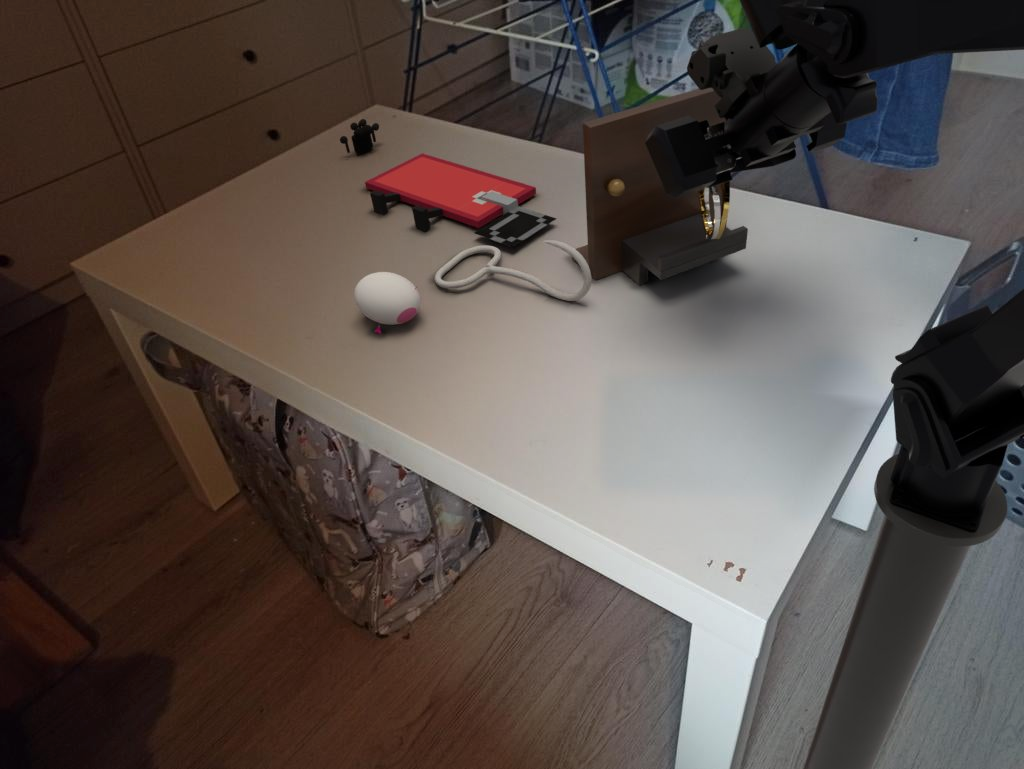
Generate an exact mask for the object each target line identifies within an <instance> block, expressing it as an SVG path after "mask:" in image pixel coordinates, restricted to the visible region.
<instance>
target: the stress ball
mask: <svg viewBox="0 0 1024 769" xmlns="http://www.w3.org/2000/svg"><path fill="white" fill-rule="evenodd" d="M417 288H418V286H415V285H414V284H413V282H412V281H410V280H409V279H407V278H405V277H404V276H403V275H400V274H398V273H394V272H389V271H377V272H373V273H367V275H365V276H364V277H362V278H361V279H360V280H359V282H357V284H356V286H355V289H354V301H355V304H356V306H357V308H358V309H359V311H360V312H361V313H362V314H363V315H364V316H365V317H366V318H368V319H370V320H372V321H374V322H376V323H379V324H378V326H377V328H376V329H375V330H374V331H373V332H374V333H377V334H381V335H382V334H383V333H382V332H381V328H380V327H381V326H380V325H381V324H383V325H387V326H388V325H389V326H393V325H402V324H404V323H407V322H409V321H411V320H412V319H413V318H414V317H415V316H416V315H417V313H418V312H419V311H420V307H421V297H420V293H419V291H418V289H417Z"/></svg>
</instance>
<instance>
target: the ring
mask: <svg viewBox="0 0 1024 769" xmlns="http://www.w3.org/2000/svg"><path fill="white" fill-rule="evenodd" d="M729 172H730V174H731V175H732V173H731V171H730V170H729ZM720 186H721V190H722V210H721V211H720V199H719V195H718V191H717V189H716V187H715V186H713V187H710V188H704V192H703V189H702V190H700V191H698V195H699V203H700V210H701V216H702V221H703V226H704V230H705V237H706V238H707V239H708V240H718V239H720V237H721V235H722V233H723V231H724V228H725V224H726V225H727V223H726V220H727V221H728V215H729V208H730V202H731V201H730V200H731V182H730V183H729V181H728V182H725V183H722V184H720ZM709 190H710V192H711V195H712V198H713V202H714V227H713V226H712V222H711V217H710V210H709Z"/></svg>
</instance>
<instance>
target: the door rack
mask: <svg viewBox="0 0 1024 769" xmlns="http://www.w3.org/2000/svg"><path fill="white" fill-rule="evenodd" d="M721 99H722V98H721V97H719V96H718V95H717V94H716V92H715V91H714V90H713V88H708V89H704V90H700V89H699V88H696V89H693V90H689V91H686V92H682V93H678V94H676V95H671V96H669V97H665V98H662V99H659V100H656V101H651V102H649V103H645V104H642V105H639V106H634V107H632V108H631V107H630V108H628V109H625V110H622V111H621V110H620V111H618V112H615V113H611V114H608V115H604V116H601V117H598V118H595V119H590V120H588V121H584V122H582V138H583V139H582V140H583V161H584V164H583V165H584V188H585V208H586V210H585V211H586V212H585V213H586V235H587V236H586V237H587V244H585V245H583V246H580V247H577V248H575V249H576V250H577V251H578V252H579V253H580V254H581V255H582V256H583V258H584V259H585V260H586V262H587V264H588V266H589V269H590V272H591V278H593V279H594V280H595V281H597V280H600V279H603V278H605V277H608V276H611V275H614V274H617V273H619V272H623V273H624V274H625V275H627V276H628V277H629V278H630V279H631V280H632V281H634V283H636V284H637V285H638V286H641V285H643V284H646V283H648V282H649V271H650V272H651V273H652V274H653V275H655V277H657V278H658V279H659V280H661V281H662V280H665V279H667V278H670V277H672V276H675V275H678V274H681V273H684V272H687V271H689V270H691V269H694V268H697V267H700V266H703V265H705V264H708V263H710V262H713V261H716V260H718V259H721V258H724V257H726V256H729V255H732V254H735V253H738V252H740V251H743V250H746V248H747V242H748V241H747V240H748V231H749V228H748V227H746V226H744V225H742V226H739V227H736V228H734V229H729V228H728V227H727V221H728V219H727V220H726V224H725V228H724V231H723V233H722V235H721V237H720V239H718V240H708V239H707V238H706V237H705V230H704V226H703V221H702V216H701V210H700V203H699V195H698V191H697V192H694V193H692V194H689V195H686V196H683V197H680V198H677V199H674V198H672V197H670V196H668V195H667V194H666V191H665V189H664V187H663V184H662V182H661V180H660V177H659V175H658V173H657V170H656V168H655V165H654V163H653V161H652V158H651V156H650V154H649V151H648V149H647V147H646V144H645V141H646V139H647V136H648V135H649V134H650V132H651V131H652V130H653V129H654V128H655V127H656V126H657V125H661V124H664V123H667V122H670V121H674V120H677V119H680V118H683V117H687V116H690V117H692V118H694V119H696V120H697V121H698V122H701V121H704V120H707V121H708V123H709V125H710V126H713V125H716V124H719V123H722V122H725V121H726V120H725V117H724V118H720V117H719V115H718V113H717V110H716V108H715V105H716V104H717V103H718V102H719V101H720V100H721ZM724 134H725V133H724ZM729 183H730V184H731V181H729ZM715 187H716V189H717V191H718V195H719V199H720V211H721V210H722V190H721V186H720V184H719V185H716V186H715ZM703 192H704V189H703ZM709 210H710V217H711V222H712V226H713V227H714V202H713V198H712V195H711V192H710V190H709ZM571 260H573V261H574V262H575V263H576V264H578V262H577V261H576V260H575V259H574V258H573V257H572V256H571Z"/></svg>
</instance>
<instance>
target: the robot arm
mask: <svg viewBox="0 0 1024 769" xmlns="http://www.w3.org/2000/svg"><path fill="white" fill-rule="evenodd" d="M738 1H739V3H740V5H741V7H742V10H743V12H744V15H745V17H746V19H747V21H748V24H749V26H750V28H751V29H750V28H746V27H742V28H741V27H740V28H737V29H733V30H729V31H727V32H722V33H719V34H715V35H713V36H711V37H709V39H708V40H707V41H703V42H701V43H699V46H698V48H697V49H696V50H692V52H691V54H690V57H689V60H688V64H687V66H686V72H687V75H688V76H689V78H690V79H691V80H692V82H693V83H694V84H695V85H696V86H697V89H700V90H704V89H708V88H713V90H714V91H715V92H716V94H717V95H718V96H719V97H721V98H722V99H721V100H720V101H719V102H718V103H717V104H716V105H715V108H716V110H717V113H718V115H719V117H720V118H724V117H725V120H726V121H725V122H722V123H719V124H716V125H713V126H710V125H709V123H708V121H707V120H704V121H701V122H698V121H697V120H696V119H694V118H692V117H690V116H687V117H683V118H680V119H677V120H674V121H670V122H667V123H664V124H661V125H657V126H656V127H655V128H654V129H653V130H652V131H651V132H650V134H649V135H648V136H647V139H646V141H645V144H646V147H647V149H648V151H649V154H650V156H651V158H652V161H653V163H654V165H655V168H656V170H657V173H658V175H659V177H660V180H661V182H662V184H663V187H664V189H665V191H666V194H667V195H668V196H670V197H672V198H674V199H677V198H680V197H683V196H686V195H689V194H692V193H694V192H697V191H700V190H702V189H704V188H710V187H713V186H716V185H719V184H722V183H725V182H728V181H730V182H731V181H733V177H732V173H737V172H738V173H739V172H746V171H750V170H751V171H752V170H759V169H764V168H770V167H775V166H778V165H781V164H784V163H787V162H790V161H793V160H795V159H796V156H797V151H796V148H797V145H796V143H795V141H796V140H797V139H798V138H800V137H803V136H804V137H805V136H807V135H809V137H810V140H811V142H810V143H808V144H807V145H806V148H807V151H808V153H809V154H812V153H816V152H819V151H820V150H825V149H828V148H830V147H833V146H834V145H836V144H837V143H839V142H840V141H841V140H843V139H844V138H845V137H846V132H847V125H848V123H849V122H852V121H855V120H858V119H861V118H865V117H868V116H871V115H873V114H876V113H877V111H878V102H879V98H878V96H877V87H878V82H877V80H874V79H871V78H870V77H869V73H872V72H876V71H879V70H884V69H887V68H891V67H894V66H898V65H902V64H905V63H908V62H912V61H916V60H919V59H923V58H926V57H931V56H934V55H945V54H964V53H965V54H966V53H985V52H1006V51H1022V50H1023V51H1024V0H738ZM771 44H773V46H774V49H775V50H778V51H780V50H785V49H788V48H791V47H792V49H790V51H788V52H787V54H785V55H784V56H783V57H782V58H781V59H780V60H779V61H778V62H777V61H776V57H775V56H776V55H775V54H774V53H773V52H772V51H771V49H769V48H768V45H771ZM724 133H725V134H724ZM729 170H730V171H731V174H730V172H729ZM894 359H895V360H896V361H897V362H899V363H900V364H899V365H897V366H896V367H895V368H894V370H893V372H892V374H891V377H890V382H891V384H892V385H893V389H892V404H893V415H894V418H893V419H894V429H895V430H894V431H895V441H896V442H897V443H898V444H899V445H900V447H899V451H898V453H897V454H898V457H897V460H896V463H895V466H894V469H893V473H892V476H891V479H890V480H891V481H892V483H895V487H894V489H893V492H892V494H891V497H890V503H891V504H892V505H894V506H897V507H899V508H902V509H905V510H908V511H911V512H914V513H917V514H919V515H922V516H925V517H928V518H931V519H934V520H937V521H939V522H942V523H945V524H948V525H951V526H954V527H956V528H959V529H962V530H965V531H968V532H972V533H973V532H976V531H977V530H978V528H979V525H980V521H981V518H982V514H983V511H984V507H985V504H986V501H987V498H988V496H989V494H990V492H991V489H992V487H993V485H994V482H995V480H996V481H997V479H998V475H999V473H1000V471H1001V470H1002V469H1001V468H1002V467H1003V464H1004V460H1005V456H1006V453H1007V450H1008V446H1009V444H1012V443H1014V442H1015V441H1017V440H1022V439H1024V288H1023V289H1021V290H1020V291H1019V292H1017V293H1016V294H1015V295H1013V297H1011V298H1010V299H1009V300H1008V301H1006V302H1005V303H1004V304H1002V306H1001V307H999V308H998V309H996V310H995V311H994V312H992V311H991V308H990V307H989V305H988V304H984V305H982V306H980V307H977V308H974V309H973V310H970V311H967V312H966V313H964V314H962V315H961V314H960V315H959V316H957V317H955V318H952V319H949V320H948V321H946V322H943V323H941V324H939V325H936V326H934V327H931V328H929V329H927V330H926V331H925V332H924V333H923V334H922V335H921V336H920V337H918V339H917V341H915V343H914V344H913V346H912V348H910V349H908V350H906V351H903V352H901V353H899V354H897V355H895V356H894ZM895 499H897V500H899V501H896V500H895ZM969 525H972V526H973V527H971V526H969Z"/></svg>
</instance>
